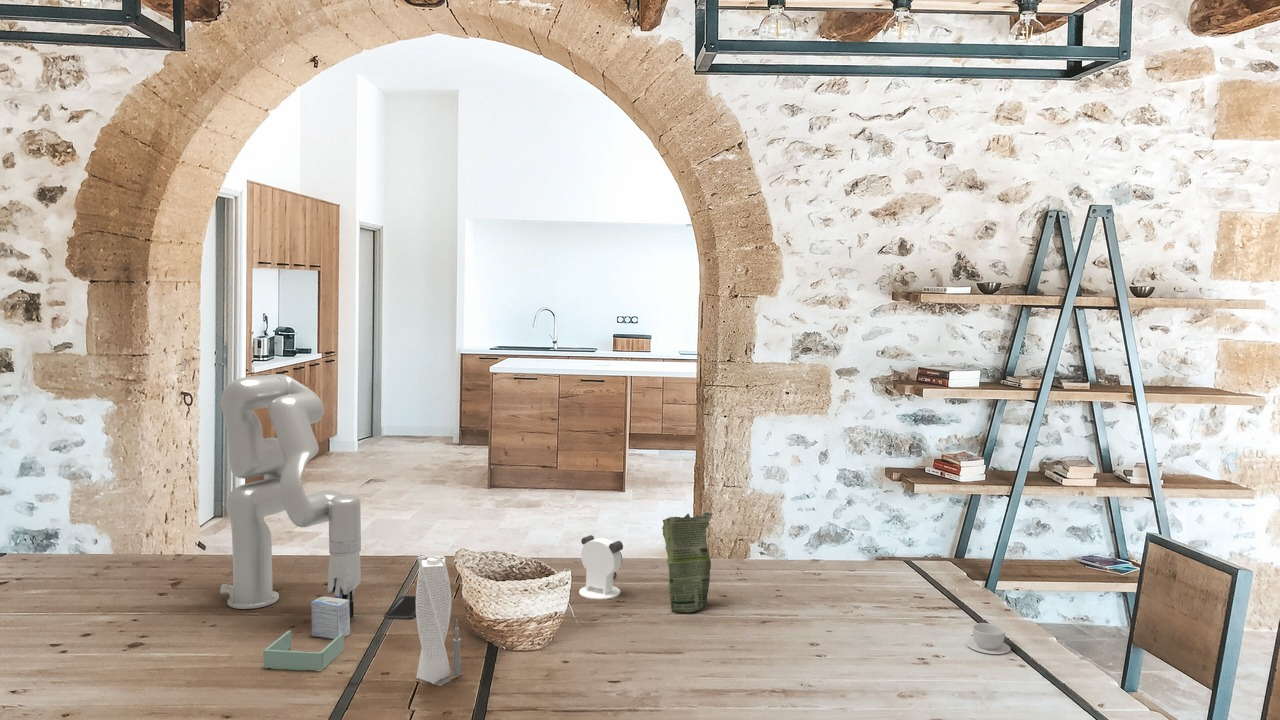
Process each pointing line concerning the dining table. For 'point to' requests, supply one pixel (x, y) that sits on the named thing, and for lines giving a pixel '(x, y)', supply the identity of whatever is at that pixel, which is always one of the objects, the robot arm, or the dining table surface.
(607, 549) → the panda figurine
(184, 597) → the dining table surface
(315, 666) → the box
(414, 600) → the phone
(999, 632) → the teacup
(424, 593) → the skyscraper
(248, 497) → the robot arm
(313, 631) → the medicine box
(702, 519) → the pouch
